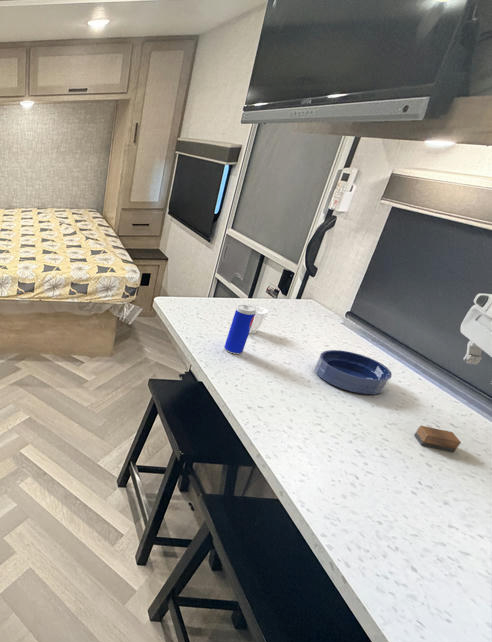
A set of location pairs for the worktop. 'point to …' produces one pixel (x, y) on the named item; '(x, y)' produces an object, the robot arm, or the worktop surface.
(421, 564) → the worktop surface
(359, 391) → the bowl
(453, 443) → the eraser
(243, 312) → the beverage can
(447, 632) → the worktop surface
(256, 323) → the cup
